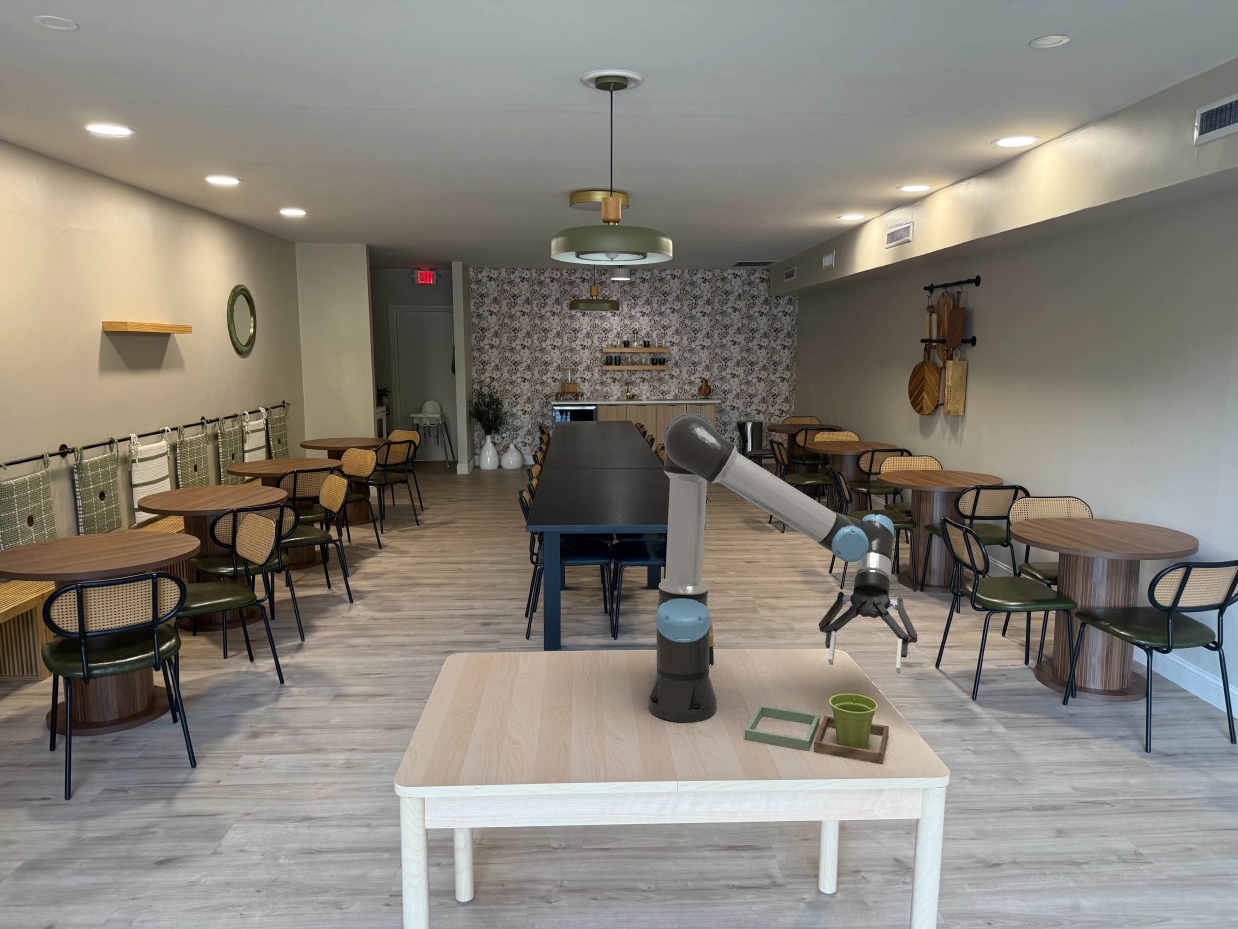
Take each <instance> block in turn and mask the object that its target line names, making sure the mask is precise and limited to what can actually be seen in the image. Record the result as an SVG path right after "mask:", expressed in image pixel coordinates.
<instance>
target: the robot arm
mask: <svg viewBox="0 0 1238 929" xmlns="http://www.w3.org/2000/svg"><path fill="white" fill-rule="evenodd" d="M664 443H665V444H664V462H663V464H664V465H663V472H664V474H666V476H667V477H668V478H669V495H668V497H669V499H668V518H667V534H666V536H667V538H666V541H667V542H666V559H665V560H666V562H665V578H664V579H663V580H661V582H659V585H658V593H657V594H658V596H657V597H658V598H657V606H656V616H655V626H656V675H655V678H654V680H653V684H652V687H651V690H650V693H649V695H648V696H649V697H648V710H649V709H650V710H649V712H652V713H651V714H652V715H654V716H655V715H656V718H659V717H660V719H662V718H663V719H662V720H665V719H666V720H665V721H669V720H670V721H669V722H677V723H695V722H699V721H704V720H706V719H709V718H711V717H712V716H714V715H715V714H716V712H717V711H718V710H717V707H718V706H717V704H718V703H717V701H718V700H717V696H716V692H715V689H714V686H713V683H712V680H711V678H710V666H709V627H710V619H711V617H710V611H709V609H708V592H709V591H708V590H709V588H708V585H706V584H705V582H704V581H703V564H704V563H703V562H704V546H705V545H704V544H705V528H706V526H705V525H706V510H707V509H706V507H707V506H706V505H707V491H708V490H707V489H708V488H707V487H708V482H709V483H710V484H717V483H719V484H721V485H723V486H725V488H728V489H729V490H730V491H732V492H734V493H736V494H737V495H739V496H740V497H742V498H744V499H745V500H747V501H749V502H750V503H752V504H753V505H755V506H757V507H758V508H760V509H762V510H763V511H764V512H766V513H768V514H770V515H771V516H773V517H775V518H776V519H778V520H780V521H781V522H783V523H784V524H786V525H788V526H789V527H791V528H793V529H794V530H796V531H798V532H799V533H801V534H802V535H804V536H806V537H807V538H809V539H810V540H812V541H814V542H816V543H817V544H818V545H819V546H821V547H823V548H825V549H826V550H828V551H829V552H831V553H833V554H834V556H835V557H836V558H837V559H840V560H841V561H844V562H845V563H855V562H856V565H855V573H854V574H855V577H854V582H853V584H854V585H853V591H852V592H853V593H852V594H851V595H850V594H845V593H844V592H843V591H839V592H838V594H837V598H836V600H835V601H834V602H833V604H832V605H831V607H830V608H829V610H828V611H827V612H826V613H825V615H824V616H823V617H822V619H821V620H820V621H819V623H818V629H819V631H820V632H821V633H824V634H825V641H824V644H825V648H826V649H829V650H828V651H829V652H828V663H829V665H831V666H833V665H834V658H835V652H836V651H835V650H836V643H837V634H836V633H837V632H838V631H839V630H841V629H842V628H843V627H844V626H846V625H847V624H848V623H849V622H850V621H852V620H853V619H855V618H857V617H859V616H861V617H864V618H868V617H869V618H871V619H872V618H873V619H877V618H878V617H880V618H881V620H882V621H883V622H885V623H886V625H887V626H888V627H889V628H890V629H891V631H892V632H893V633H894V634H895V636H896V637H897V638H898V639H897V650H896V651H897V652H896V665H895V670H896V671H895V673H896V674H901V667H902V666H901V665H902V658H904V659H905V658H907V657H908V651H909V650H908V649H909V644H911V643H912V644H913V643H914V644H916V643H917V642H918V633H917V632H916V629H915V627H914V625H913V623H912V621H911V619H910V618H909V615H908V613H907V611H906V609H905V607H904V599H903V597H897V599H890V597H889V596H890V584H891V581H890V580H891V575H892V574H891V572H892V556H893V551H894V550H893V549H894V541H895V528H894V527H895V526H894V523H893V521H892V519H890V518H889V517H888V516H886V515H882V514H874V513H872V514H871V513H870V514H867V515H865V516H864V517H863V518H862V519H858V518H855V517H851V516H848V515H845V514H843V513H840V512H836V511H834V510H831V509H830V508H828V507H826V506H825V505H823V504H821V503H820V502H818V501H817V500H814V499H813V498H811V497H810V496H808V495H807V494H805V493H803V492H802V491H801V490H799V489H797V488H795V487H794V486H792V485H791V484H789V483H787V482H786V481H784V480H782V479H781V478H779V477H777V476H776V475H775V474H773V473H772V472H770V471H769V470H767V469H765V468H763V467H761V466H760V465H759V464H756V463H755V462H753V461H752V460H750V459H748V458H747V457H746V456H744V455H742V454H741V453H739V452H738V449H737V446H736V444H734V443H732V442H731V441H729V440H727V439H726V438H724V437H723V436H722V434H720V433H719V432H718V431H717V430H716V429H715V428H714V425H712V423H711V421H709V419H707V418H706V417H704V416H703V415H700V414H695V413H684V414H680V415H678V416H676V417H675V418H673V419H672V420H671V421H670V423H669V424H668V425H667V427H666V429H665V432H664ZM849 602H850V603H851V605H850V607H849V608H848V609H847V610H846V611H845V612H844V613H842V614H841V615H840V616H839V617H838V618H836V617H837V616H838V614H839V613H840V611H841V610H842V609H843V606H845V605H847V604H848V603H849ZM890 607H893V609H894V610H896V611H897V613H898V616H899V618H900V620H901V622H902V625H903V626H904V628H905V630H906V632H905V630H904V629H903V628H902V627H901V626H900V625H899V623H898V622H897V621H896V620H895V618H893V616H892V615H891V614H890V612H889V610H888V609H889V608H890ZM835 618H836V619H835ZM833 620H834V621H833Z"/></svg>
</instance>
